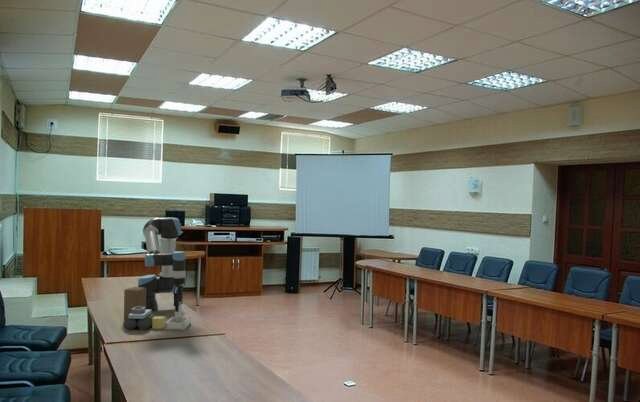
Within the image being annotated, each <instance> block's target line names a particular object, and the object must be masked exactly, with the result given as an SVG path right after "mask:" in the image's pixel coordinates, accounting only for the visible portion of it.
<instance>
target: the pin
mask: <svg viewBox="0 0 640 402" xmlns="http://www.w3.org/2000/svg"><path fill="white" fill-rule="evenodd" d="M179 306H180V317H175V316H174V317H175V322H178V323H181V317H182V304H181V301H179Z"/></svg>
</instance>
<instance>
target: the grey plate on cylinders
mask: <svg viewBox="0 0 640 402" xmlns="http://www.w3.org/2000/svg"><path fill="white" fill-rule="evenodd" d="M152 312H153V311H152V310H149V309H145V307H134V308H132V313H131V314H129V315H128V318H127V319H126V320H125V321H124V320H123V327H124V328H125V329H126V330H128V331H131V330H134V329H135V328H137V327H138V329H139V330H141V331H145V330H148V329H149V328H150V327H152V318H154V317H156V315H155V314H154V313H152Z"/></svg>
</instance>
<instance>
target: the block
mask: <svg viewBox="0 0 640 402" xmlns="http://www.w3.org/2000/svg"><path fill="white" fill-rule="evenodd" d="M123 295H124V297H123V298H124V299H123V322H124V321H125V320H126V319H127V318H128V315H129V314H131V313H132V308H134V307H145V309H146V288H143V287H138V286H132V287H129V288H126V289H124V291H123Z"/></svg>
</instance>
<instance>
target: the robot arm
mask: <svg viewBox="0 0 640 402" xmlns="http://www.w3.org/2000/svg"><path fill="white" fill-rule="evenodd" d="M180 222H181V221H180V219H179V218H177V217H154V218H153V217H152V218H150V219H149V220H148V221H147V222H146V223H145V224H144V226H143V229H142V233H143V236H144V238H145V244H146V252H147V253H146V254H145V256H144V265H145V267H161V272H159V275H158V276H156V274H146V275H142V276H140V277H139V278H138V279H137V287H143V288H146V309H149V310H152V312H153V311H156V310H158V309H159V304H158V301H157V298H156V297H157V296H156V294H167V293H168V294H171V293H173V307H174V317H180V306H179V301H181V305H182V304H184V302H183V298H184V297H183V296H184V295H183V294H184V286H183V285H184V284H185V283H186V252H185V251H176V246H177V245H176V243H177V239H179V236H180V235H181V234H182V228H181V223H180ZM159 236H160V238H161V239H162V252H161V249H160V243H159Z"/></svg>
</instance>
